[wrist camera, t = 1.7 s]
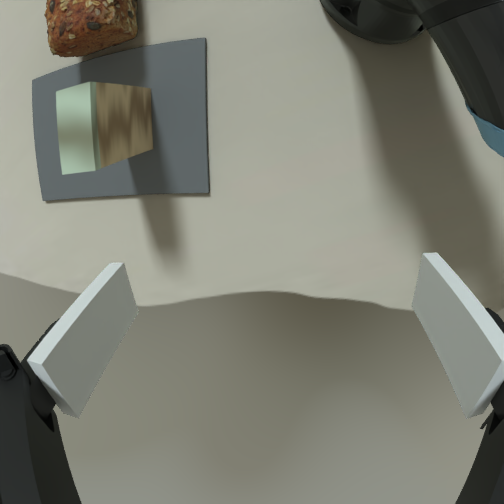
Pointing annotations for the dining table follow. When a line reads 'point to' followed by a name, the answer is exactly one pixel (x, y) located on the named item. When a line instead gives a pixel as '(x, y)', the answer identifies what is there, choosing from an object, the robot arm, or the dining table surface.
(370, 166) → the dining table surface
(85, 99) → the slab
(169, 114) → the mat
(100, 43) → the bread
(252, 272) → the dining table surface
